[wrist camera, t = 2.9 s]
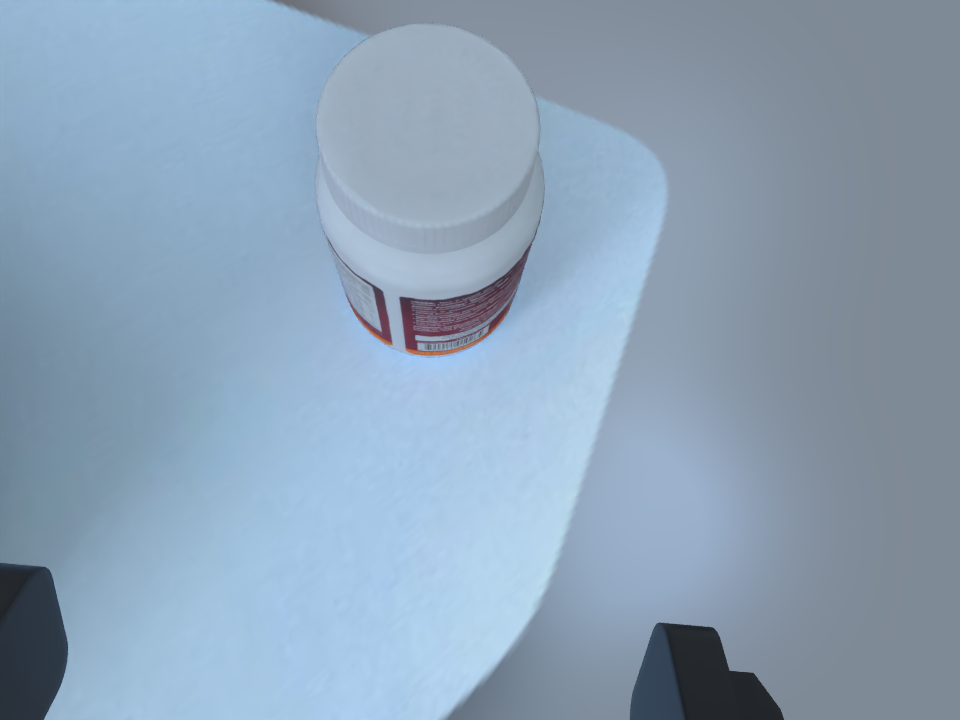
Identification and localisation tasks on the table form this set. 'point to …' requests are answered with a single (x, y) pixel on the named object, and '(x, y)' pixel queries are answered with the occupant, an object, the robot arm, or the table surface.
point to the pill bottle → (429, 184)
